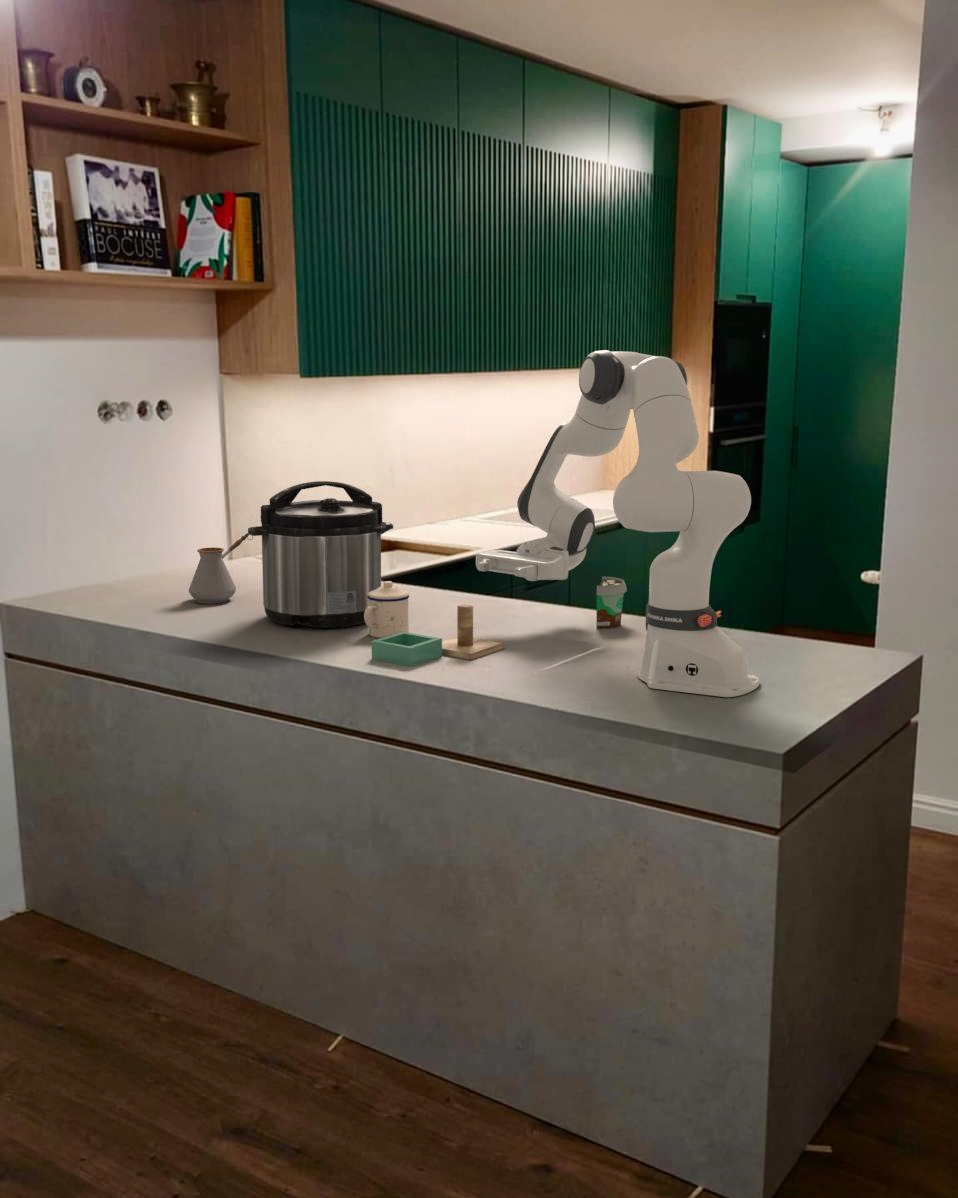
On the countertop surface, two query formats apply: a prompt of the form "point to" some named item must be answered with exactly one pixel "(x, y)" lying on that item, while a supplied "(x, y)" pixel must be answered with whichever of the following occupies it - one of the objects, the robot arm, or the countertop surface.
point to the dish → (406, 648)
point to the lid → (467, 638)
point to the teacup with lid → (387, 611)
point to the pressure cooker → (320, 556)
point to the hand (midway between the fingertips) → (499, 569)
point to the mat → (475, 658)
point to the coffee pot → (213, 576)
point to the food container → (610, 602)
